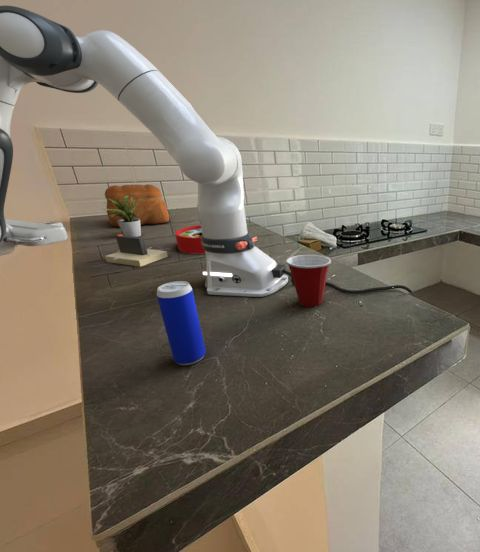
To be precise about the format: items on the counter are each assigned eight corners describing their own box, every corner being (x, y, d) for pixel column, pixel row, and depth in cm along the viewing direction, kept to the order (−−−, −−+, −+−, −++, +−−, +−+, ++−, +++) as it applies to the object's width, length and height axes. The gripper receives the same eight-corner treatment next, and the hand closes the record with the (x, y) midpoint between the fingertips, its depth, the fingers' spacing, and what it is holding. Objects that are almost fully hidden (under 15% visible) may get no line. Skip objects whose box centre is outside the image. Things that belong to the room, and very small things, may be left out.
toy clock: (160, 235, 112) (199, 222, 130) (164, 251, 114) (202, 236, 133) (215, 239, 111) (247, 226, 129) (218, 256, 113) (248, 240, 131)
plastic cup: (339, 296, 88) (338, 255, 84) (319, 314, 79) (317, 269, 74) (304, 290, 91) (301, 249, 86) (281, 307, 81) (276, 262, 77)
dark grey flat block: (147, 253, 106) (143, 236, 103) (143, 255, 104) (138, 238, 102) (125, 250, 107) (120, 234, 105) (120, 252, 106) (115, 235, 104)
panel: (172, 255, 111) (170, 249, 110) (135, 268, 99) (133, 261, 98) (137, 250, 114) (136, 245, 113) (98, 263, 102) (96, 256, 101)
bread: (171, 224, 148) (163, 186, 141) (110, 229, 135) (97, 188, 129) (168, 216, 160) (160, 181, 154) (111, 221, 148) (100, 183, 142)
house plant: (111, 232, 132) (99, 191, 126) (153, 229, 139) (143, 190, 133) (106, 241, 121) (92, 197, 115) (152, 237, 128) (141, 195, 122)
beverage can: (211, 350, 64) (197, 280, 58) (197, 367, 59) (180, 293, 53) (184, 349, 64) (167, 279, 58) (168, 366, 59) (147, 292, 53)
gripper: (18, 229, 73) (85, 217, 85) (-49, 220, 76) (25, 210, 89) (29, 256, 75) (93, 240, 88) (-37, 245, 78) (34, 232, 91)
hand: (58, 225), depth 88 cm, fingers closed
